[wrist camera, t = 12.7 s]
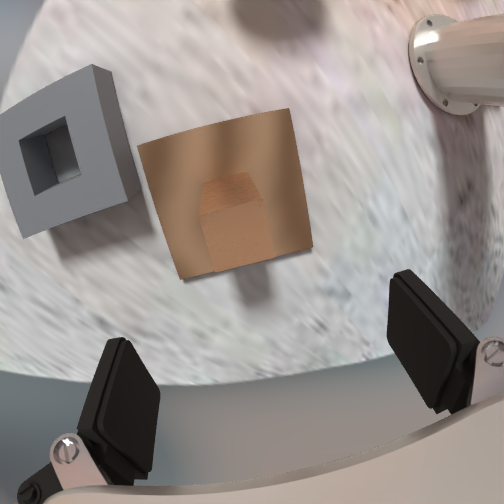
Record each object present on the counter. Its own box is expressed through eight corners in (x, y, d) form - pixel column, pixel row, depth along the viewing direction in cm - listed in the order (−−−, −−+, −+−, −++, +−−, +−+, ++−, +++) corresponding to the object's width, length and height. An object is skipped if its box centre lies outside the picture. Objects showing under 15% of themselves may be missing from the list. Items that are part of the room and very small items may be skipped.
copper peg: (247, 171, 27) (263, 198, 18) (256, 211, 29) (275, 257, 20) (204, 182, 27) (198, 215, 18) (215, 222, 29) (215, 272, 20)
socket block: (111, 71, 23) (91, 64, 18) (141, 187, 28) (127, 201, 23) (15, 119, 23) (-12, 123, 18) (45, 221, 28) (23, 238, 23)
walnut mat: (286, 108, 26) (289, 108, 25) (310, 243, 32) (313, 247, 31) (139, 145, 26) (137, 145, 25) (181, 275, 32) (180, 279, 31)
